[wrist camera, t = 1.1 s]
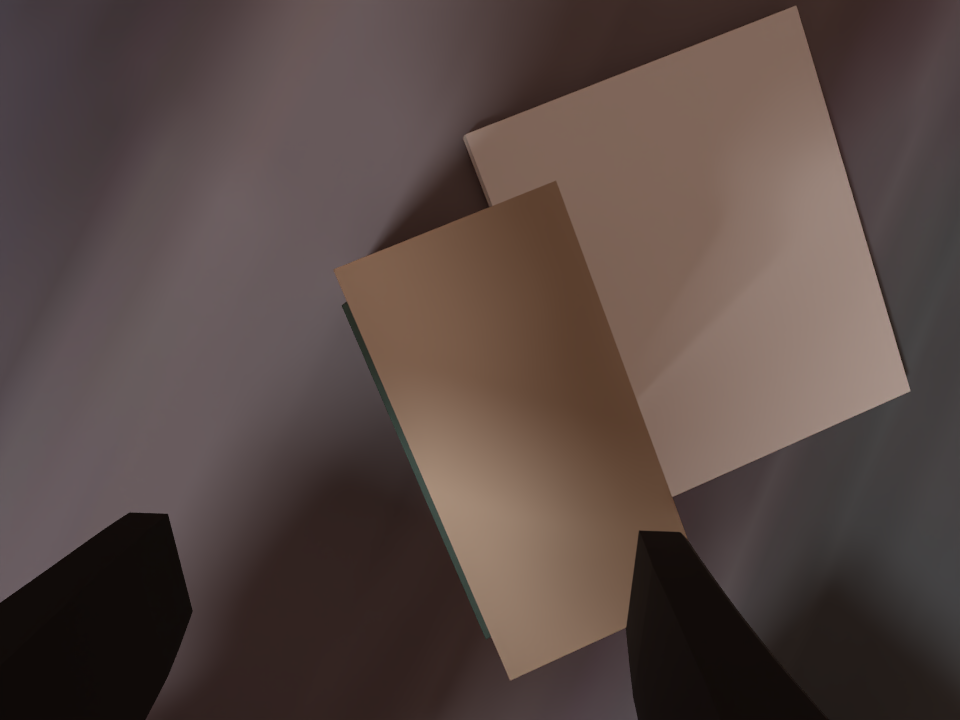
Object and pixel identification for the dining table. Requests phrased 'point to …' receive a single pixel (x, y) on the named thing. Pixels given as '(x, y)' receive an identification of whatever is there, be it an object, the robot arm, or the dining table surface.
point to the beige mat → (715, 243)
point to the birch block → (515, 420)
